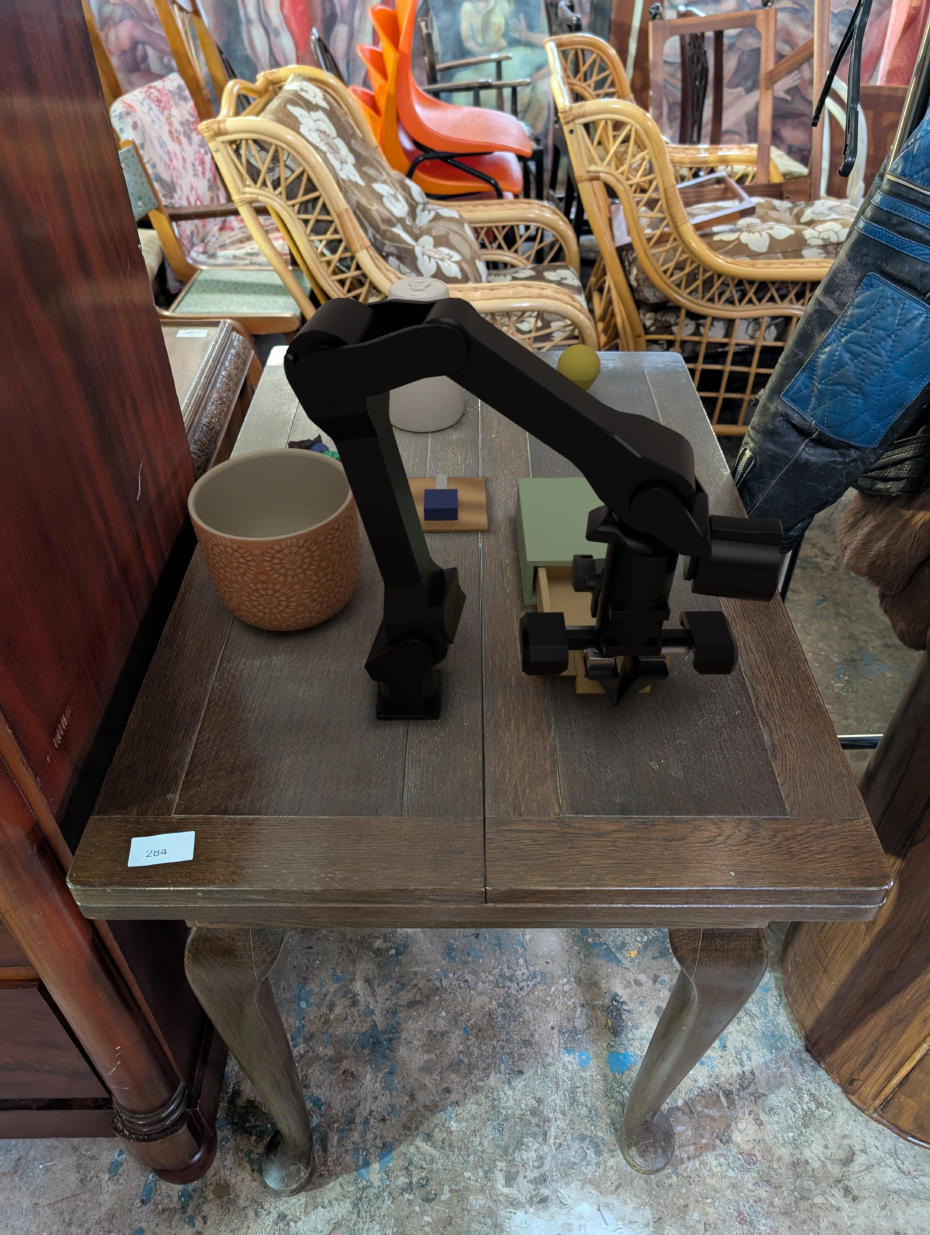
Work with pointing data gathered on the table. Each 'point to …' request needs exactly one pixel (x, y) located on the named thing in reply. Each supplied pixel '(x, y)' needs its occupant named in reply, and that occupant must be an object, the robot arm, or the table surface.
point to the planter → (278, 536)
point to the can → (427, 398)
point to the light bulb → (580, 365)
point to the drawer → (570, 617)
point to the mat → (469, 504)
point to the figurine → (314, 447)
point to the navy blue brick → (440, 501)
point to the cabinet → (553, 525)
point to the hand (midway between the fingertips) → (613, 704)
